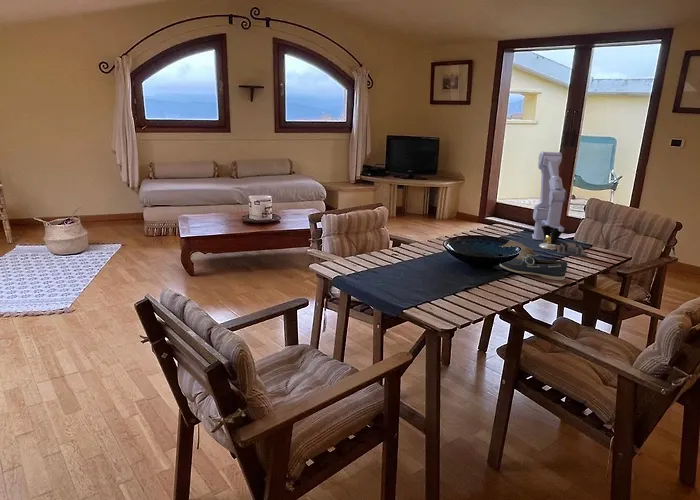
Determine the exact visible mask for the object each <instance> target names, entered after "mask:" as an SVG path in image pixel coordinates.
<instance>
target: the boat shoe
mask: <svg viewBox="0 0 700 500" xmlns="http://www.w3.org/2000/svg"><path fill="white" fill-rule="evenodd" d="M521 257H524V256H521ZM535 257H539V254H533V255H527V256H526V257H524V258H523V260H510V261H507V262H504V263H502V264H501V263H499V267H501V268H502V269H504V270H507V271H509V272H513V273H517V274H522V275H523V274H524V275H532V276H539V277H542V278H544V279H549V280H554V281H564V280H565V279H566V274H567V273H568V272H567V269H568V262H567V261H566V260H565V261H564V260H549V259H548V260H546V259H537V258H535Z"/></svg>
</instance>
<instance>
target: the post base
mask: <svg viewBox="0 0 700 500" xmlns="http://www.w3.org/2000/svg"><path fill="white" fill-rule="evenodd" d="M555 245H556V248H557V249H556V250H555V251H556V253H557V254H558V255H564V254H565V255H566V256H573V257H574V256H576V257H582V258H587V254H586V252H585V250H584V248H583V247H582V245H579V244H578V246H577V244H575V243H573V242H565V243H564V244H563V243H559V244H555Z"/></svg>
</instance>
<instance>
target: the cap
mask: <svg viewBox="0 0 700 500" xmlns="http://www.w3.org/2000/svg"><path fill="white" fill-rule="evenodd" d="M542 241H543V242H542V243H547V244H551V235H546V237H545V240H542Z"/></svg>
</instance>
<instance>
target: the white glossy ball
mask: <svg viewBox="0 0 700 500" xmlns="http://www.w3.org/2000/svg"><path fill="white" fill-rule="evenodd" d="M556 245H557V244H547V243H545V242H542V243H540V244H539V246H538V247H540V248H541V249H544V250H548V249H550V251H557V250H556V249H557V248H556Z"/></svg>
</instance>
